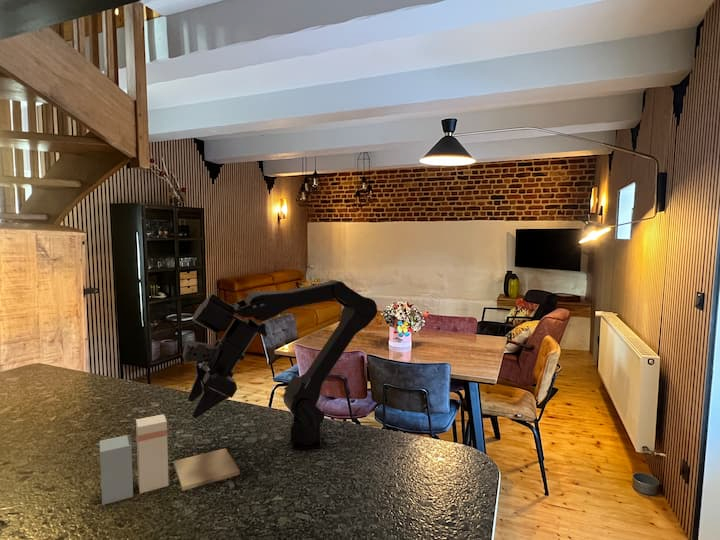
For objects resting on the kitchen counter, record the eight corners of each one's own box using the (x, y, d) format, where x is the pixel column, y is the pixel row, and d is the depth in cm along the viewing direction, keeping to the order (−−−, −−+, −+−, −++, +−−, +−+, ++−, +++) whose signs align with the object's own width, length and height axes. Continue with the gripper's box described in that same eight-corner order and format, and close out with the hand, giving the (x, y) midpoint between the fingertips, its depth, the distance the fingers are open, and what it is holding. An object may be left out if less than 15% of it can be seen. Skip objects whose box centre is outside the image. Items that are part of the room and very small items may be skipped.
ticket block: (131, 483, 85) (129, 433, 84) (133, 496, 81) (131, 444, 80) (101, 491, 82) (99, 439, 81) (102, 505, 78) (99, 451, 77)
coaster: (225, 451, 98) (225, 448, 98) (239, 474, 88) (239, 470, 88) (173, 464, 92) (173, 461, 92) (182, 490, 83) (182, 486, 82)
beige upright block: (165, 475, 88) (163, 414, 87) (168, 485, 84) (166, 421, 83) (137, 483, 85) (135, 419, 84) (139, 493, 82) (137, 427, 81)
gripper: (196, 317, 98) (155, 378, 95) (206, 334, 81) (157, 409, 78) (238, 340, 102) (199, 399, 99) (256, 361, 86) (210, 432, 83)
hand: (191, 408), depth 90 cm, fingers open, 9 cm apart
